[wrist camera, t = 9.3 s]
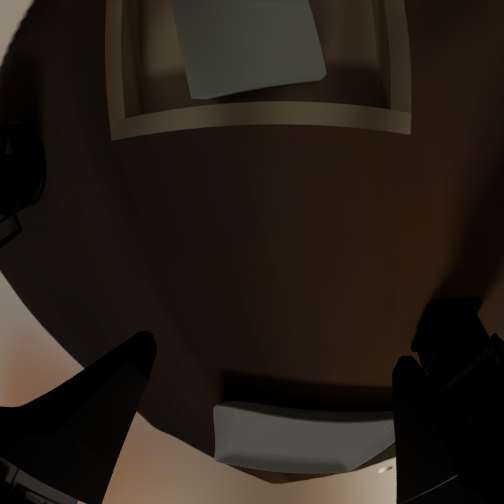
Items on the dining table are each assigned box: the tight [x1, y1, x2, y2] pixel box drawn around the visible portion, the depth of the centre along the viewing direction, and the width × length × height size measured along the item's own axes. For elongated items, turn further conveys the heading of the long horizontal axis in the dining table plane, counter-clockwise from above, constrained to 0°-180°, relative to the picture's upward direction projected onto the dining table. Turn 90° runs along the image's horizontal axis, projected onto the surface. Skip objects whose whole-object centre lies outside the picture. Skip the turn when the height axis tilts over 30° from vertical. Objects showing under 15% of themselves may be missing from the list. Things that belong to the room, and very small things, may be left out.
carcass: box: [105, 0, 411, 141], centre depth 11 cm, size 17×13×4 cm
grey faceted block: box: [171, 0, 327, 100], centre depth 10 cm, size 6×9×4 cm, turn 12°
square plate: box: [213, 401, 395, 473], centre depth 35 cm, size 27×27×4 cm
